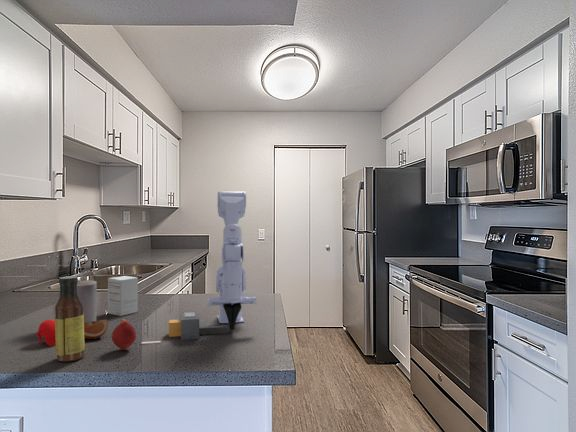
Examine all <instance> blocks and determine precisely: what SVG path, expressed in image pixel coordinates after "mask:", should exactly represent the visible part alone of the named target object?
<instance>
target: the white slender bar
mask: <svg viewBox="0 0 576 432" xmlns="http://www.w3.org/2000/svg"><path fill="white" fill-rule="evenodd" d="M161 343H162V342H161V340H155V341H142V342H141V344H140V345H151V344H152V345H154V344H161Z"/></svg>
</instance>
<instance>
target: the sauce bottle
mask: <svg viewBox="0 0 576 432" xmlns="http://www.w3.org/2000/svg"><path fill="white" fill-rule="evenodd" d="M78 279H79V278H78V276H74V275H71V276H69V275H68V276H62V277H59V278H58V283H59V289H60V291H59V299H58V300H57V302H56V305H55V307H54V310H55V311H54V312H55V313H54V314H55V315H54V316H55V318H54V321H55V335H56V345H55V354H56V361H58V362H64V363H67V362H74V361H78V360H81V359H82V358H84V356H85V347H86V346H85V338H84V312H83V307H82V304H81V302H80V300H79V297H78V292H77V283H78Z"/></svg>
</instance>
